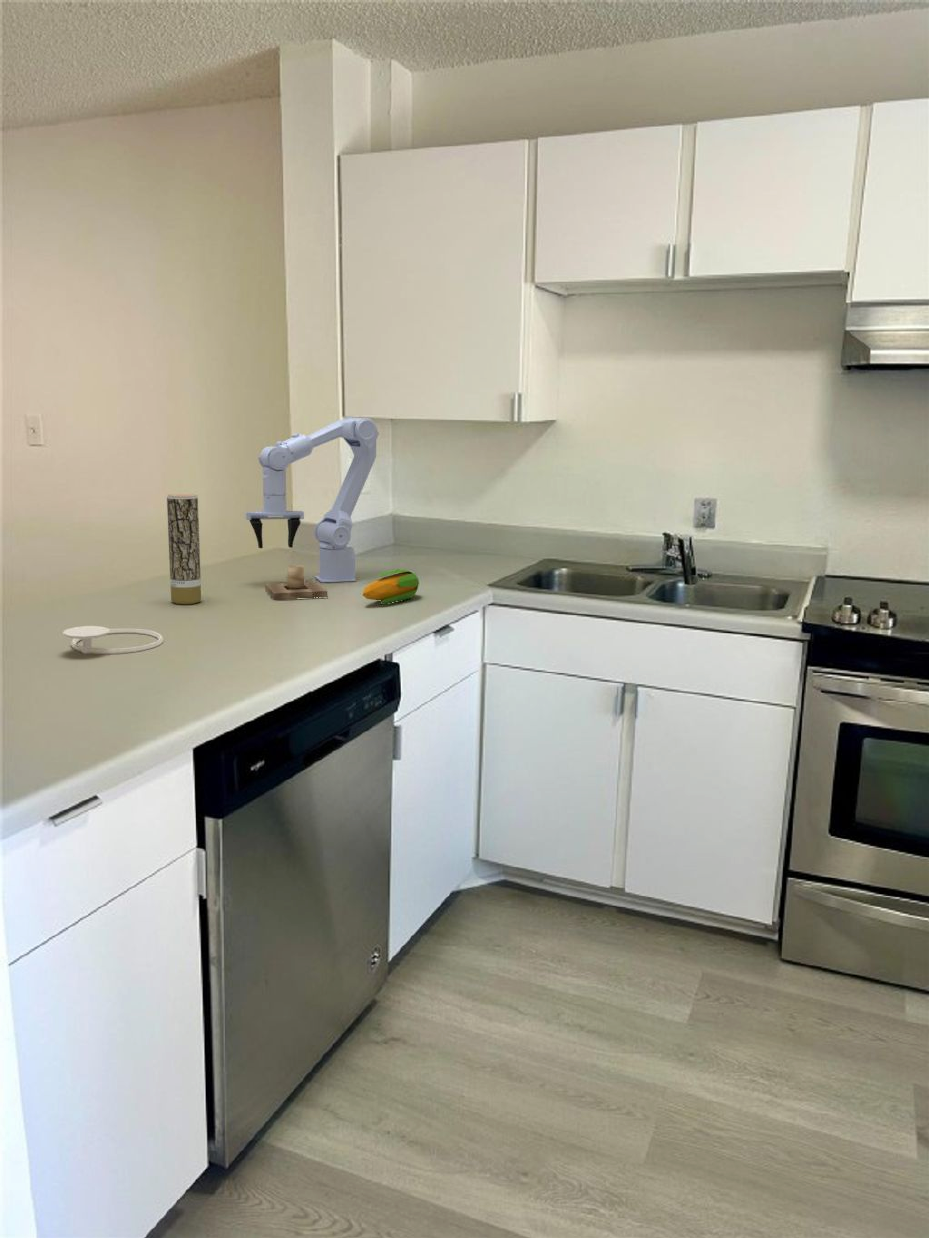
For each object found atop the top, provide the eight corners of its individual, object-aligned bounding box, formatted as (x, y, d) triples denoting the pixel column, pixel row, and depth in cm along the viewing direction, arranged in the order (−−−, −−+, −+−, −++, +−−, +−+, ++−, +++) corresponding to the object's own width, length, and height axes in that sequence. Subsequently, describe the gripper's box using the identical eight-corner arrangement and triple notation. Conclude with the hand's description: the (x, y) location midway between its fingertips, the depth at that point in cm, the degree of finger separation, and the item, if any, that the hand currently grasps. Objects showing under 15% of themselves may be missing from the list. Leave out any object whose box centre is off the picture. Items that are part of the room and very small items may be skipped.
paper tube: (192, 606, 211) (188, 497, 205) (165, 604, 212) (161, 495, 207) (206, 600, 218) (203, 494, 212) (180, 598, 219) (176, 493, 213)
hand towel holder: (181, 619, 182) (106, 641, 163) (182, 640, 183) (107, 665, 164) (113, 609, 188) (33, 630, 169) (114, 630, 189) (35, 652, 170)
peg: (297, 592, 230) (297, 564, 229) (307, 594, 228) (307, 567, 226) (284, 594, 227) (284, 566, 226) (294, 596, 225) (294, 568, 223)
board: (316, 588, 235) (316, 581, 235) (327, 598, 224) (327, 591, 224) (265, 591, 230) (265, 583, 230) (274, 600, 220) (274, 593, 219)
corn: (426, 567, 228) (376, 578, 212) (427, 597, 229) (378, 610, 213) (402, 565, 232) (352, 576, 215) (403, 595, 233) (353, 607, 217)
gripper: (299, 492, 239) (300, 544, 242) (243, 493, 234) (244, 545, 237) (305, 495, 233) (305, 548, 236) (247, 495, 227) (248, 549, 231)
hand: (275, 547), depth 236 cm, fingers open, 7 cm apart
